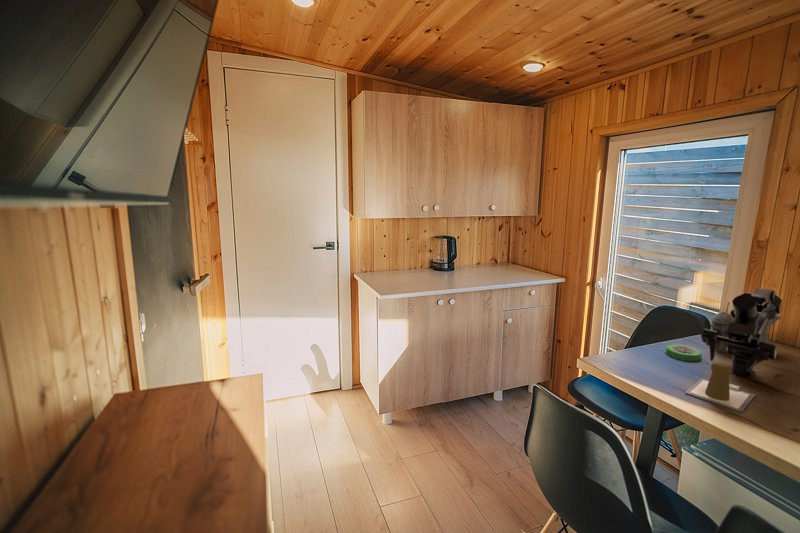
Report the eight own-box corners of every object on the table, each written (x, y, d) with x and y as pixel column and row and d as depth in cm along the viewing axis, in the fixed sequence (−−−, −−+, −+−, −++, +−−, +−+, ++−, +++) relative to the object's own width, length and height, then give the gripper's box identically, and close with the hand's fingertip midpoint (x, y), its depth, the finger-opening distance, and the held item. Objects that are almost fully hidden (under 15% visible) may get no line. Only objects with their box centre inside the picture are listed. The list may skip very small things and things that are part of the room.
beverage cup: (703, 347, 160) (710, 301, 156) (715, 344, 162) (723, 299, 158) (722, 354, 153) (730, 306, 149) (735, 351, 155) (743, 304, 151)
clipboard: (701, 378, 133) (702, 375, 133) (755, 395, 122) (755, 391, 122) (685, 393, 123) (685, 389, 123) (741, 413, 112) (742, 408, 112)
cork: (734, 399, 119) (740, 366, 117) (719, 401, 117) (725, 368, 115) (714, 389, 125) (719, 358, 122) (700, 392, 123) (705, 360, 121)
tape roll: (659, 353, 155) (660, 346, 155) (677, 348, 159) (678, 342, 159) (689, 363, 145) (690, 357, 145) (706, 358, 149) (707, 352, 149)
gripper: (706, 306, 131) (690, 344, 127) (781, 320, 117) (766, 363, 112) (710, 323, 138) (695, 359, 133) (782, 338, 123) (768, 380, 119)
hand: (728, 365), depth 124 cm, fingers open, 9 cm apart
